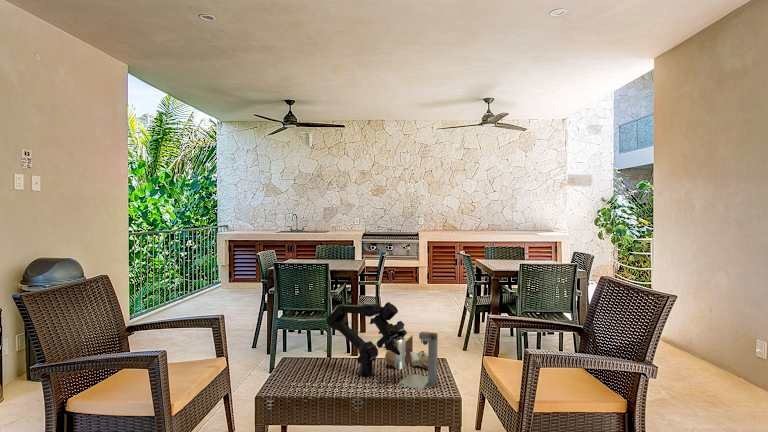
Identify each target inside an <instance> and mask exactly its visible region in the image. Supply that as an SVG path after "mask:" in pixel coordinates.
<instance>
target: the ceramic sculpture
mask: <svg viewBox="0 0 768 432" xmlns="http://www.w3.org/2000/svg"><path fill="white" fill-rule="evenodd" d="M410 360H411V362H412V363H411V365H412V367H420V368H423V369H426V370H428V353H426V352H425V351H424V350H421V351H419V352H418V353H416V352H410ZM440 362H441V361H437V365H438V364H440Z"/></svg>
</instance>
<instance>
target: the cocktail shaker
mask: <svg viewBox="0 0 768 432" xmlns="http://www.w3.org/2000/svg"><path fill="white" fill-rule="evenodd" d="M406 341H407V339H406V338H402V336H399V338H396V339H395V345H396V347H397V349H398V350H399V352H400V355H397V354H395V367H394V368H395V369H398V370H403V369H405V368H406V362H405V353H406V352H405V343H406Z"/></svg>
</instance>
